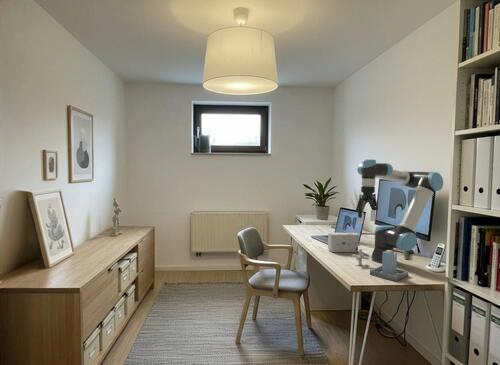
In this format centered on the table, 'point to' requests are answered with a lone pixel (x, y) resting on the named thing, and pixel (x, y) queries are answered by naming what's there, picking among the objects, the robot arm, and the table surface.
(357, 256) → the pipe connector
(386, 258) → the block
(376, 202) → the robot arm
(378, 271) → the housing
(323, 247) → the table surface
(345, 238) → the stereo radio cassette player
